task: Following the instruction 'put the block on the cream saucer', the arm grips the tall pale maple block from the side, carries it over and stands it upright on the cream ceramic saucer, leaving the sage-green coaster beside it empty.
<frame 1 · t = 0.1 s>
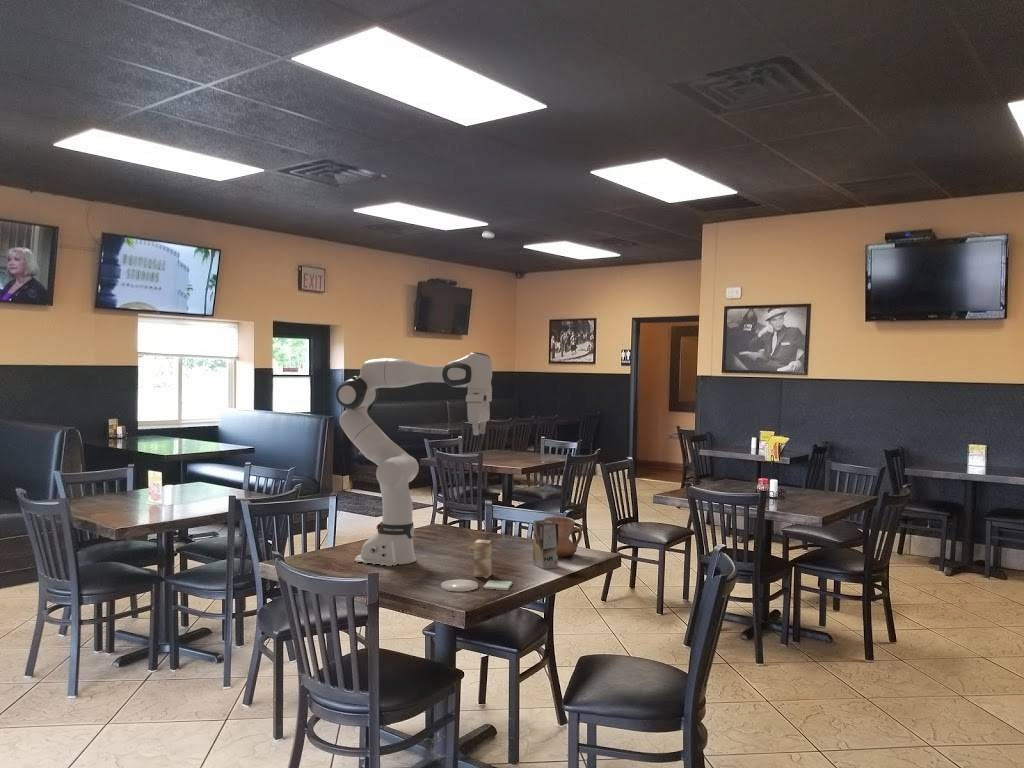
hand: (479, 434, 278), 48 cm above the table, tool pointing down, fingers open, 8 cm apart
cream saucer: (459, 587, 248), on the table
coffee box: (545, 566, 279), on the table
sage coaster: (498, 586, 250), on the table
maple block: (482, 576, 263), on the table
ceramic jug: (559, 556, 296), on the table
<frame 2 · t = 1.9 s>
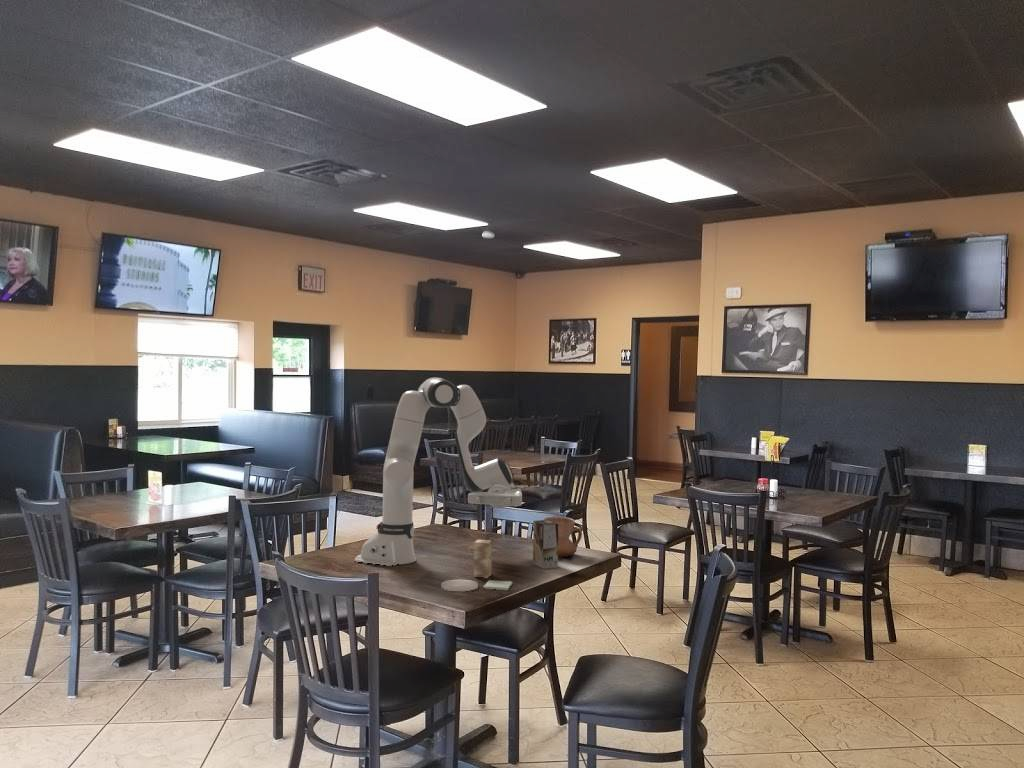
hand: (491, 501, 275), 24 cm above the table, tool horizontal, fingers open, 8 cm apart
nothing on the table moved.
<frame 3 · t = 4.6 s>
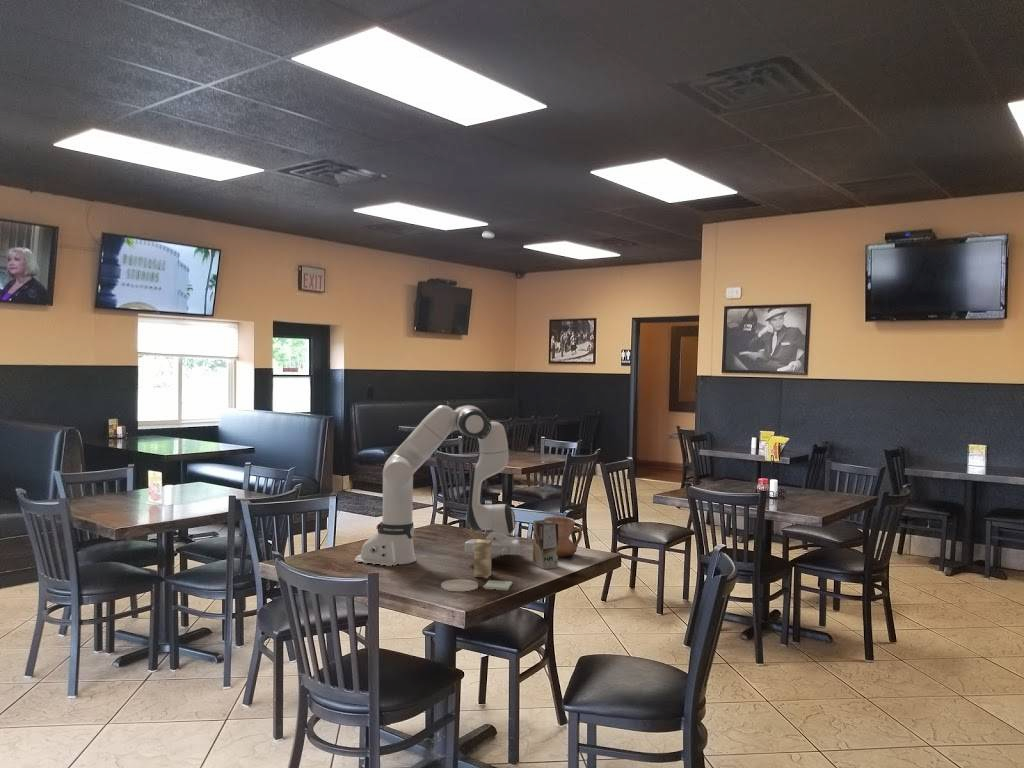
hand: (488, 551, 272), 6 cm above the table, tool horizontal, fingers open, 8 cm apart
nothing on the table moved.
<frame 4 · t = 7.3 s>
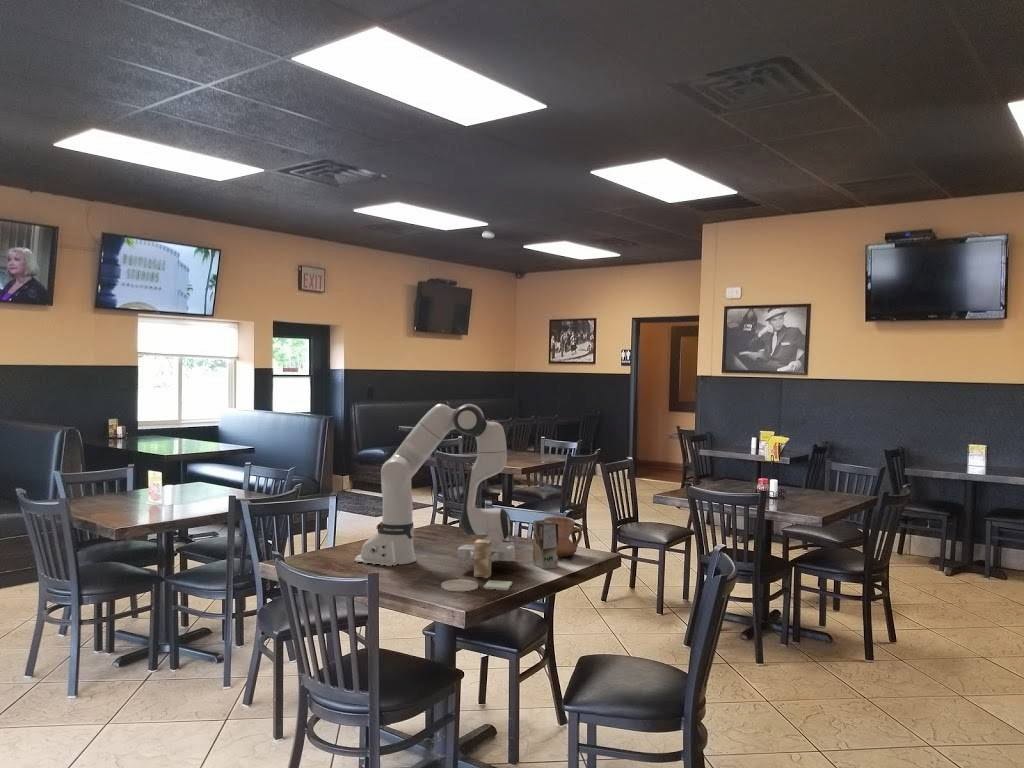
hand: (481, 557, 262), 7 cm above the table, tool horizontal, fingers closed on maple block, 5 cm apart
maple block: (482, 575, 263), on the table, touching gripper
everything else where it was.
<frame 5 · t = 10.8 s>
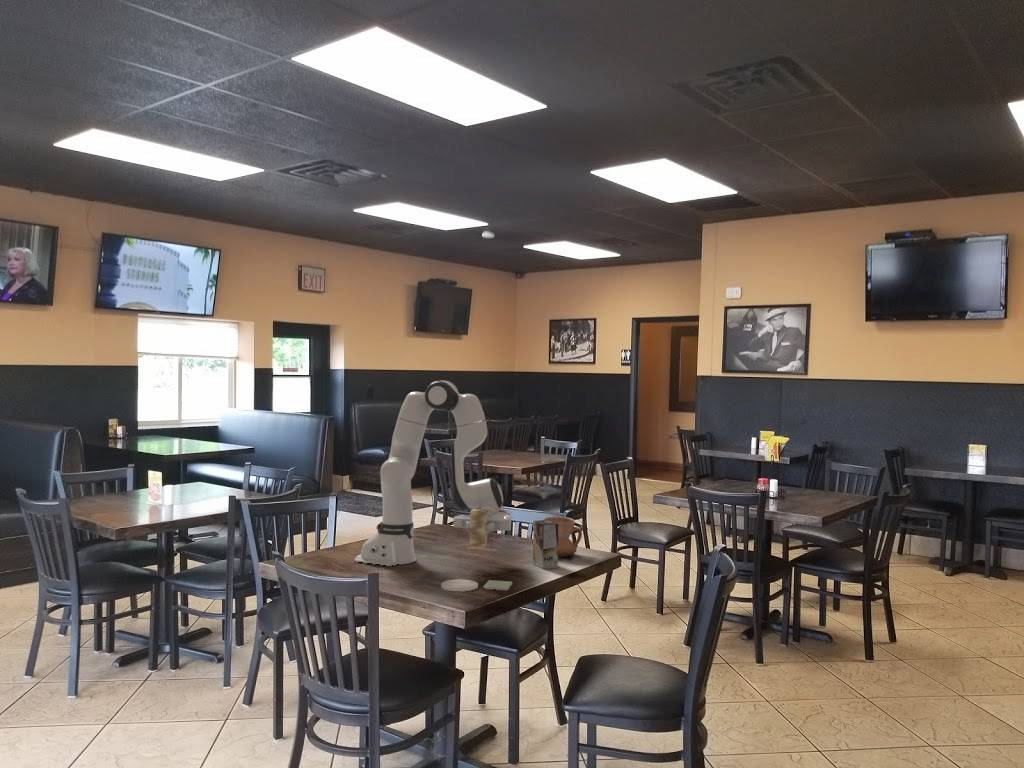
hand: (477, 526, 259), 18 cm above the table, tool horizontal, fingers closed on maple block, 5 cm apart
maple block: (478, 545, 260), point 11 cm above the table, touching gripper
everything else where it was.
when the fingers open (9 cm above the table, at t = 14.3 s): maple block drops 1 cm, resting on cream saucer.
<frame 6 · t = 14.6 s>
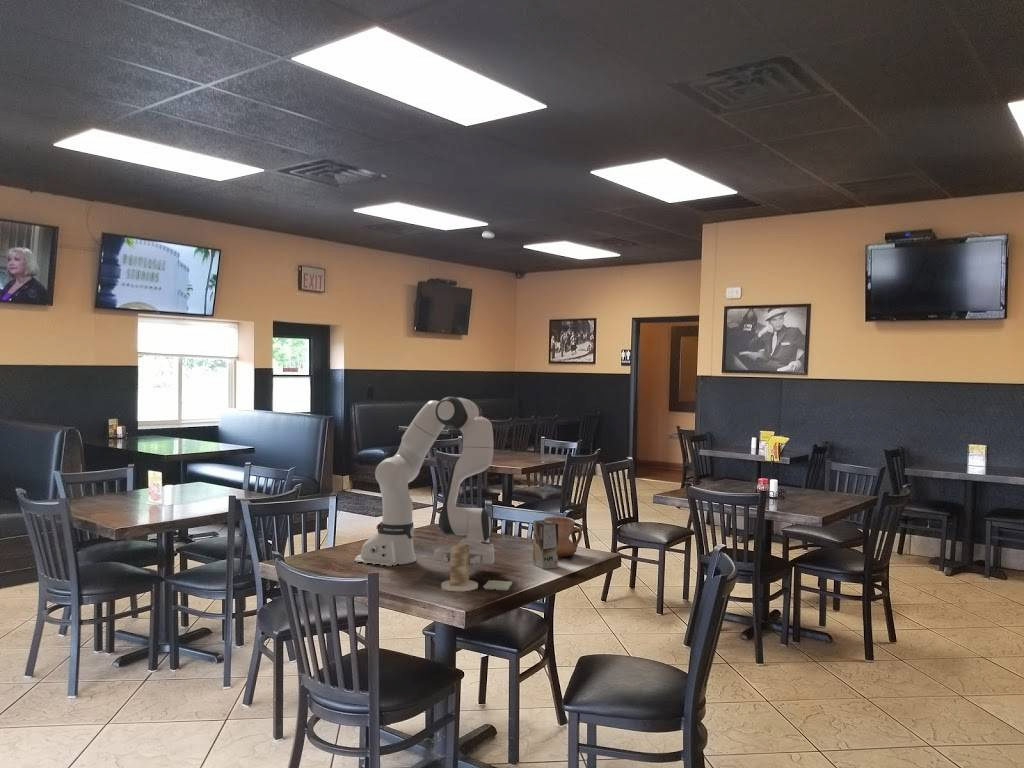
hand: (458, 560, 247), 9 cm above the table, tool horizontal, fingers open, 8 cm apart
maple block: (459, 584, 248), point 1 cm above the table, touching cream saucer
everything else where it was.
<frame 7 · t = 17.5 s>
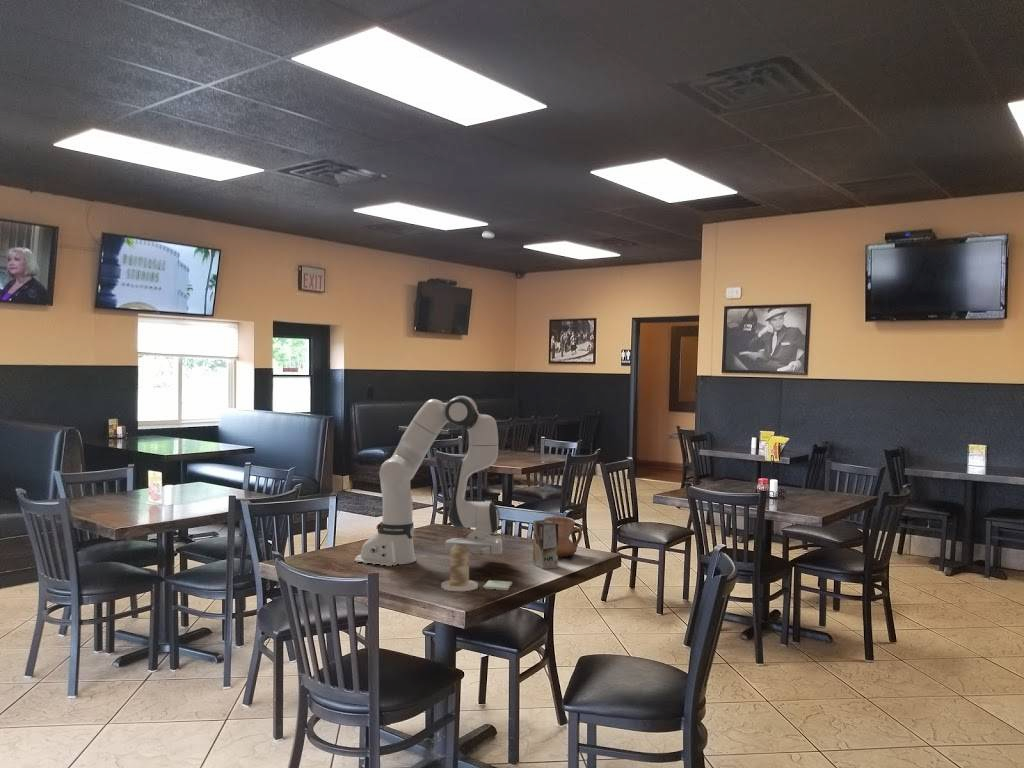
hand: (468, 551, 260), 9 cm above the table, tool horizontal, fingers open, 8 cm apart
nothing on the table moved.
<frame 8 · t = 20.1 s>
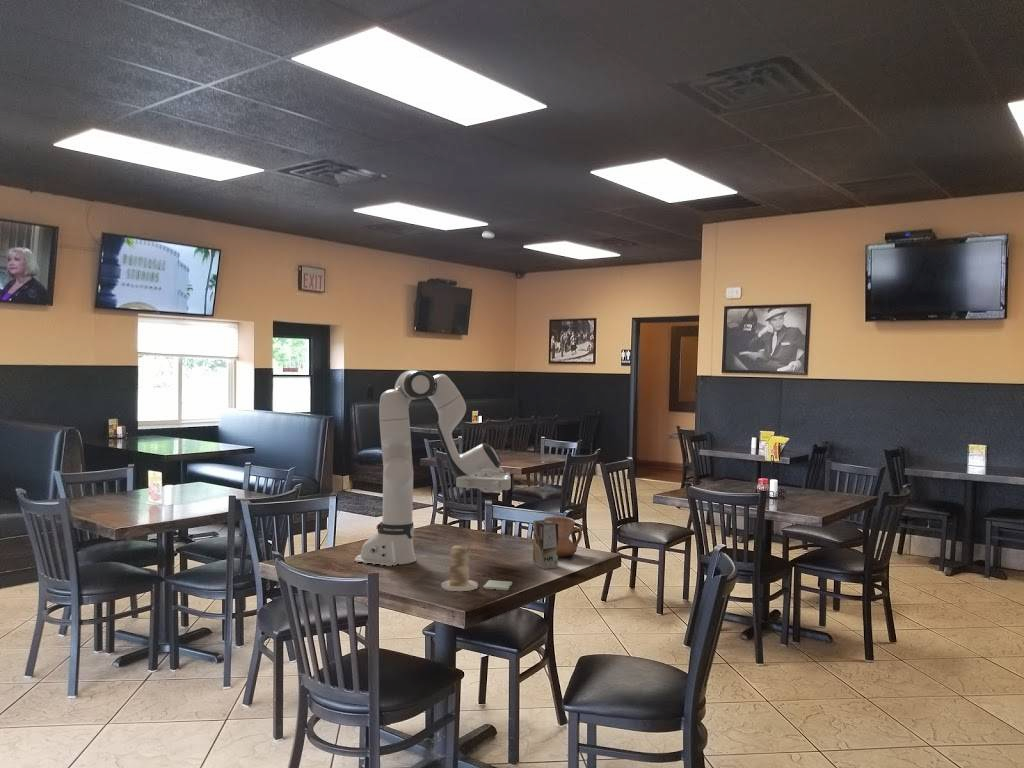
hand: (479, 485, 274), 30 cm above the table, tool horizontal, fingers open, 8 cm apart
nothing on the table moved.
at the end: maple block inside the target area on the cream saucer (0.1 cm from its centre), point 1.0 cm above the cream saucer's base; maple block tilted 0°; maple block touching cream saucer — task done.
